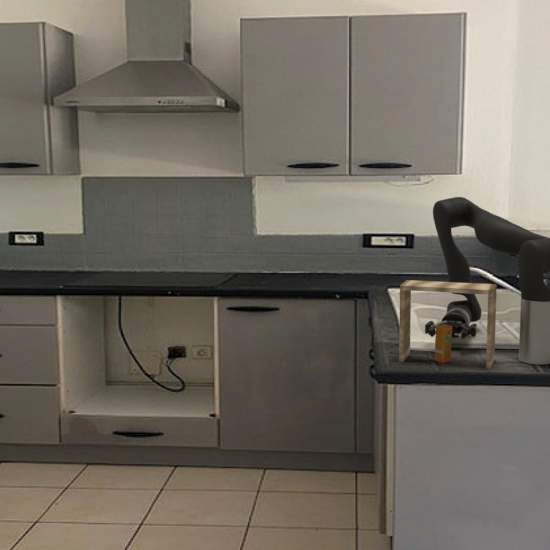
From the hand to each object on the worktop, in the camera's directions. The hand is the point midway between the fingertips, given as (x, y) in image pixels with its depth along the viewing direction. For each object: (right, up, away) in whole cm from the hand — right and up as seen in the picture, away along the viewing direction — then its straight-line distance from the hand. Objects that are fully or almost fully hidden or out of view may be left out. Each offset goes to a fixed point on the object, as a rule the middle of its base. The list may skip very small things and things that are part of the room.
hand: (447, 334), depth 232 cm
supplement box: (-2, -7, -5) cm, 9 cm away
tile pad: (-3, -4, +11) cm, 13 cm away
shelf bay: (-1, -7, -5) cm, 9 cm away
